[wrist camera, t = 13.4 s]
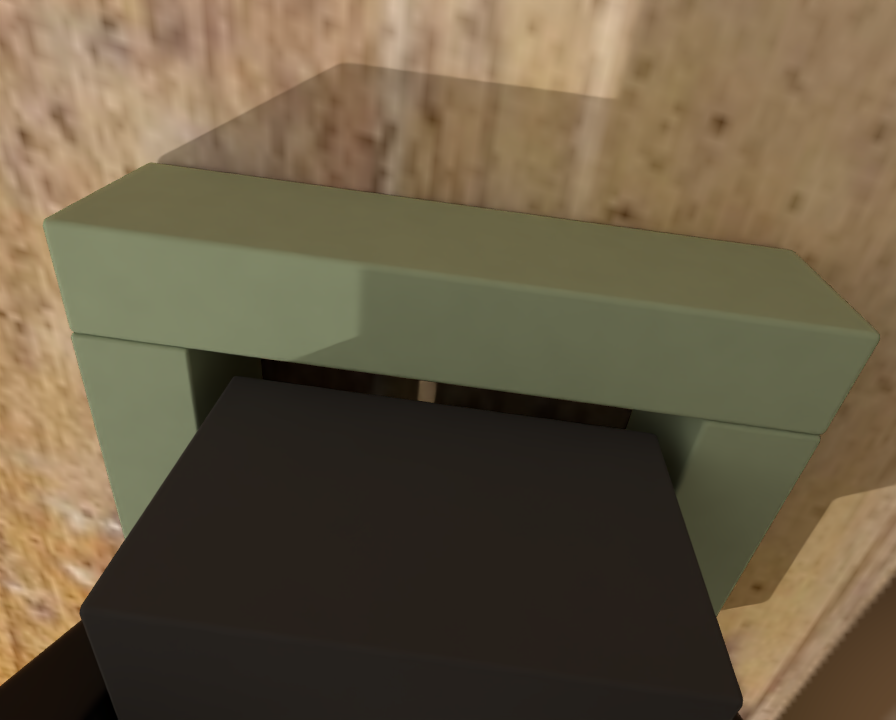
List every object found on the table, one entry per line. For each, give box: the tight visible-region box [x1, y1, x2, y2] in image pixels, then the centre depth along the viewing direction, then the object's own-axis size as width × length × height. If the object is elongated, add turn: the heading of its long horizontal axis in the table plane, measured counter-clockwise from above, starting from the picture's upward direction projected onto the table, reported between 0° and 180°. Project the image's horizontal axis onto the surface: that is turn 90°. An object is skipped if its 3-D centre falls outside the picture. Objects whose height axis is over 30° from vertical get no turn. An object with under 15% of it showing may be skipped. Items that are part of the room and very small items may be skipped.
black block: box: [79, 376, 743, 720], centre depth 8 cm, size 6×6×4 cm
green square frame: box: [43, 163, 880, 617], centre depth 10 cm, size 10×10×2 cm
